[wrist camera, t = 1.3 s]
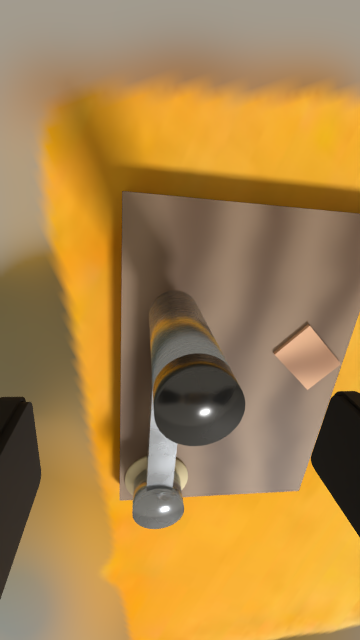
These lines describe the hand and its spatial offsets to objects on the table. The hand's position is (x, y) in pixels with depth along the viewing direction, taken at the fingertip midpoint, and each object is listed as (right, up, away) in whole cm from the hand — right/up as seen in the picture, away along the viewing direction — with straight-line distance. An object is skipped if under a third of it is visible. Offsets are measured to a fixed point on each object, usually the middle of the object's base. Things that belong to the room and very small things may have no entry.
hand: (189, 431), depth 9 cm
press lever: (-2, -4, +15) cm, 15 cm away
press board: (+4, -1, +17) cm, 17 cm away
